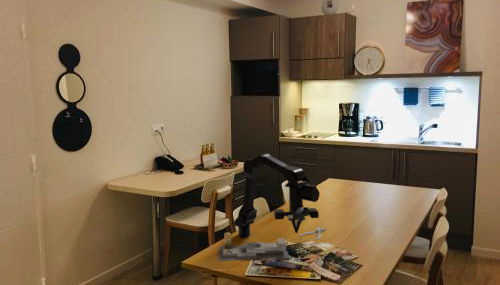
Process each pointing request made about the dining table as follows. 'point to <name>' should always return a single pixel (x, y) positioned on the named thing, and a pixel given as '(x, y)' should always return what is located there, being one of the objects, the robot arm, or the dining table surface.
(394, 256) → the dining table surface
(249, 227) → the robot arm
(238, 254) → the grey slotted plate
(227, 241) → the brass pin
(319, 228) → the pliers
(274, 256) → the gray rectangular board
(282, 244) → the metal latch plate
